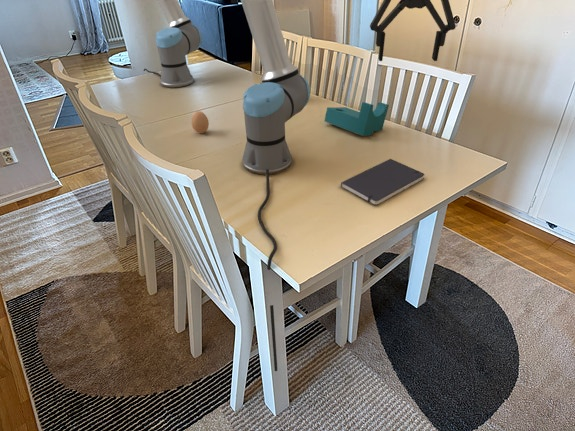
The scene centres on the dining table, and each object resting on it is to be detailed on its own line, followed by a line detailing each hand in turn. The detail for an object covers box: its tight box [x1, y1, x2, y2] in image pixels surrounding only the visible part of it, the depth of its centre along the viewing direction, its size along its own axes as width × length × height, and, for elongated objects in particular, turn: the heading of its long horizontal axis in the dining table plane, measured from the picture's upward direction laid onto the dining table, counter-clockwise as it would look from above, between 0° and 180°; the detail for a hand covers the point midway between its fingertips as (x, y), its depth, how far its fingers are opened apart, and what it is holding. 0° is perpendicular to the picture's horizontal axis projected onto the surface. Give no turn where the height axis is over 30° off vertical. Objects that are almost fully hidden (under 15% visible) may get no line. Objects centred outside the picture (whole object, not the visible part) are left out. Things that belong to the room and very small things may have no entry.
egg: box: [190, 110, 210, 134], centre depth 143 cm, size 6×6×8 cm
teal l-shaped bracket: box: [324, 101, 390, 137], centre depth 144 cm, size 18×11×10 cm, turn 43°
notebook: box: [340, 158, 425, 206], centre depth 114 cm, size 13×2×21 cm
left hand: (243, 0), depth 175 cm, fingers open, 13 cm apart
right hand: (407, 59), depth 104 cm, fingers open, 13 cm apart
